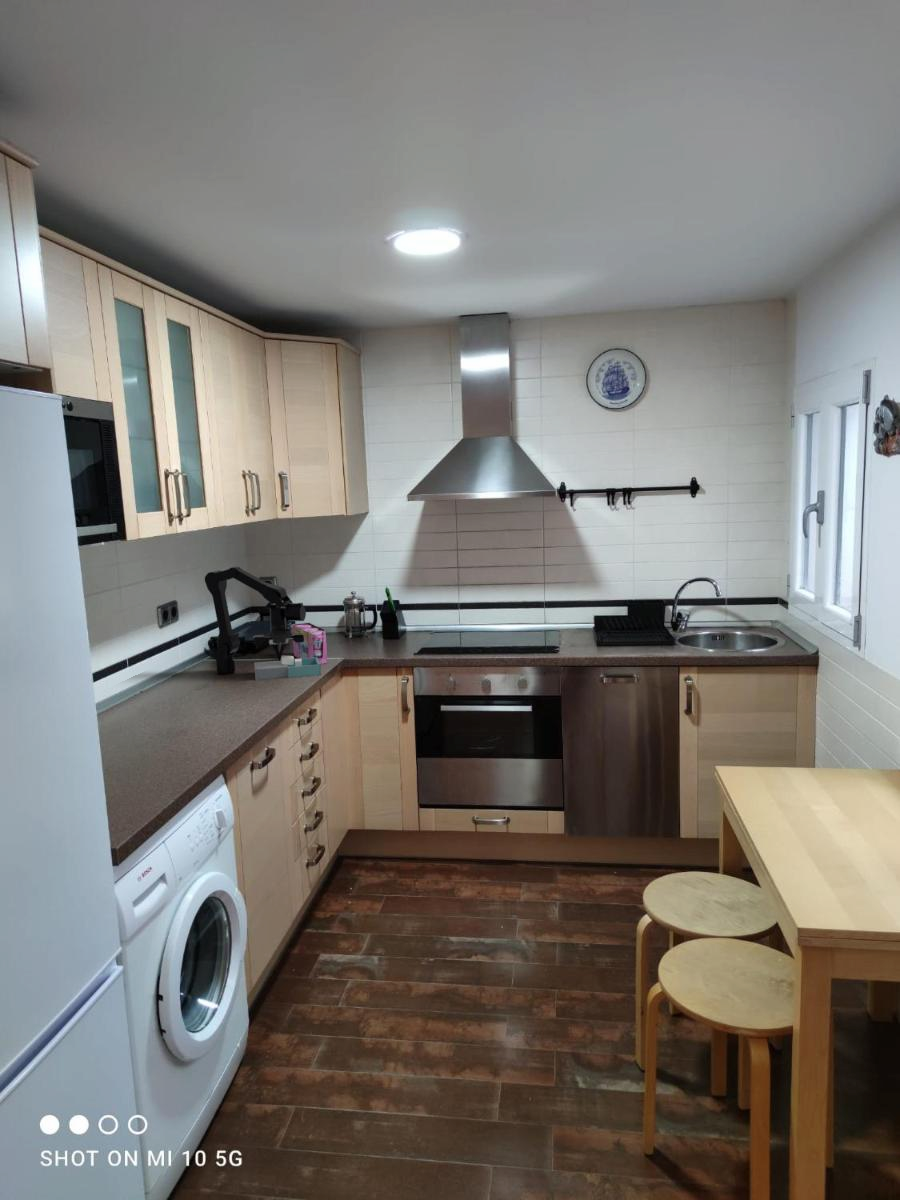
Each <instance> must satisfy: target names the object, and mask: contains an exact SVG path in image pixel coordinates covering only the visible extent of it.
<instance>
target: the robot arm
mask: <svg viewBox="0 0 900 1200" xmlns="http://www.w3.org/2000/svg"><path fill="white" fill-rule="evenodd" d="M232 579H234V580H236V581H238V582H240V583H242V584H244V585H245V586H248V587H249V588H250V589H253V590H254V591H256V592H258V593H259V594H260V595H261V596H262V597H263V598H264V599H265V600H266V601H267V604H265V606H264V607H263V609H264V610H269V621H270V636H265V635H264V634H255V635H253V636H252V637H253V640H252V641H253V645H254V646H257V645H258V646H259V645H260V646H261V645H263V644H264V643H266V642H267V643H269V645H268V646H270V647H272V648H273V649H274V651H275V655H276V657H277V659H278V660H277V661H281V657H282V656H283V653H284V650H285V648H286V646H288V645H289V641H293V640H294V641H295V642H296V643H297V642H304V635H303V633H293V632H291V630H292V629H291V628H287V621H288V622H296V621H297V622H304V621H305V619H306V616H307V610H306V609H305V606H304V603H303V602H296V603H295V602H293V601H292V600H291V598H290V597H289V596H288V595H287V591H286V589H285V587H282V586H279V585H276V584H273V583H269V582H266V581H264V580H262V579H260V578H259V577H257V576H255V575H253V574H251V573H250V572H248V571H247V570H244V569H243V568H241V567H240V566H233V567H230V568H228V569H226V570H220V569H219V570H213V571H210V572H208V573H206V575H205V576H204V583H205V585H206V589H207V590H208V592H209V593H210V595H211V596H212V600H213V606H214V611H215V616H216V623H217V625H218V635H217V636H218V637H217V648H216V649H215V650H214V651H213V653H211V655H212V658H213V659H214V660H215V661H216V663H215V664H216V675H218V676H220V675H221V676H222V675H231V674H235V672H236V660H235V659H234V656H235V655H236V652H237V651H238V650H239V648H240V644H241V641H240V636H239V635H240V634H239V633H238V632H235V631H234V630H233V628H232V627H233V626H232V622H231V617H230V611H229V606H228V602H227V601H228V600H227V596H226V591H227V587H228V580H232Z"/></svg>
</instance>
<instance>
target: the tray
mask: <svg viewBox="0 0 900 1200" xmlns="http://www.w3.org/2000/svg"><path fill="white" fill-rule="evenodd" d="M295 659H296V658H294V665H287V666H288V677H287V678H288V679H289V678H290V679H292V678H293V679H294V678H303V677H302V676H306V677H314V676H315V677H316V676H317V677H318V676H321V675H322V671H321V667H322V666H321V664H320V663H319V661H318V658H317V657H314V658H301V659H302V666H295Z"/></svg>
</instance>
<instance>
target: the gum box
mask: <svg viewBox="0 0 900 1200" xmlns="http://www.w3.org/2000/svg"><path fill="white" fill-rule="evenodd" d="M291 628H292V629H291V630H292V632H291V633H292V634H293V633H303V635H304V642H297V643H296V642H295V641H294V640H292V642H293V643H292V645H293V657H296V659H301V658H314V657H317V658H318V661H319V663H320V665H322V664H324V663H325V664H327V663H328V655H327V654H328V653H327V637H326V634H327V633H326V629H324V628H322V627H319V626H317V625H315V624H313V623H311V622H303V623H301V622H300V623H293V624H292V627H291Z"/></svg>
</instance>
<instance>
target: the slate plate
mask: <svg viewBox="0 0 900 1200" xmlns="http://www.w3.org/2000/svg"><path fill="white" fill-rule="evenodd" d="M254 676H255V681H258V680H270V679H271V680H272V679H285V678H288V666H287V665H284V664H281V660H280V661H279V660H273V661H271V660H270V661H260V662H256V661H255V662H254Z"/></svg>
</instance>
